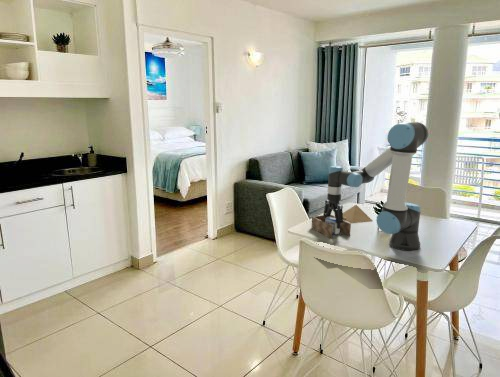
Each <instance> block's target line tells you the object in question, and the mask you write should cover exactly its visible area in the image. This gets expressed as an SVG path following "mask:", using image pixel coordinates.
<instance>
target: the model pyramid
mask: <svg viewBox="0 0 500 377" xmlns="http://www.w3.org/2000/svg"><path fill="white" fill-rule="evenodd" d="M343 220H344V221H346V222H348V223H351V224H359V223H361V224H362V223H369V222H374V221H373V219H372V218H371V217H369V216H368V214H366V212H364V210H362V209H361V207H360V206H359V205H357V204H355V205H353V206H351V207H350V208H348V209H347V210H345V211H344V212H343Z"/></svg>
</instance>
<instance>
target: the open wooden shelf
mask: <svg viewBox="0 0 500 377" xmlns="http://www.w3.org/2000/svg"><path fill="white" fill-rule="evenodd" d="M330 217H333V218H335V215H333V214H331V215H330ZM351 228H352V223H349V222H347V221H346V220H343V223H340V232H342V233H343V234H345V235H347V236H351ZM311 229H313V230H314V231H316V230H317V232H318V231H319V232H318V233H320V232H321V233H320V234H322V235H324V236H325V235H326V237H327V238H329V239H333V234H332V226H331V225H329V224H327V223H325V216H323V214H322V215H315V216H311Z"/></svg>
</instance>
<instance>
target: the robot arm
mask: <svg viewBox="0 0 500 377" xmlns="http://www.w3.org/2000/svg"><path fill="white" fill-rule="evenodd" d="M428 138H429V130H428V128H427V126H426V125H425V123H422V122H418V121H413V122H412V121H411V122H400V123H399V122H398V123H397V124H394V125H393V126H392V127H391V128H389V130H388V133H387V143H388V145H389V146H390V147H389V148H387V149H386V150H384V152H382V153H381V154H380V155H379V156H377V157H376V158H374V160H371V162H369V163H368V164H367V165H365V167H363V168H362V169H360V170H356V171H345V170H344V169H343V166H341V165H330V166H329V168H328V174H327V175H328V176H327V177H328V184H327V195H326V196H327V197H326V198H327V200H325V201H324V210H323V214H322V215H323V216H325V218H327V217H330V215H332V212H333V213H334V216H335V218H336V223H335V234H334V235H339V234H340V233H339V232H341V231H340V223H343V213H344V212H343V207H344V206H343V205H341V204H340V201H341V200H342V194H341V193H342V186H348V187H351V188H360V186H361V185H364V184H368V183H370V182H372V181H374V179H375V177H376V176H378V175H379V174H380V173H382V172H384V170H386V169H388V168H389V167H390V166H391V167H390V175H389V180H388V181H389V182H388V187H387V188H388V189H387V194H386V201H385V202H384V203H383V204H382V206H381V207H382V209H381V211H380V212H379V214H377V216H376V220H375V221H376V225H377V227H378V228H379V230H380V232H383V233H385V234H387V235H391V237H390V239H389V242H388V244H389V246H390V247H391V248H393V249H397V250H400V251H405V252H407V251H408V252H414V251H415V252H416V251H419V250H420V249H421V241H420V235H419V229H420V228H419V226H420V219H421V212H422V211H421V206H420V205H418V204H416V203H410V202H407V201H406V199H407V193H408V187H409V180H410V174H411V167H412V161H413V156H414V155H416V153H417V151H418V148H420V147H421V146H422V145H423V144H425V142H427V139H428Z"/></svg>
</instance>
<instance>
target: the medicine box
mask: <svg viewBox="0 0 500 377" xmlns="http://www.w3.org/2000/svg"><path fill="white" fill-rule="evenodd" d="M325 223H327V224H329V225H331V226H332V235H336V234H335V223H336V218H333V217H327V218H325ZM340 232H341V231H340ZM340 232H339V234H340Z"/></svg>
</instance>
